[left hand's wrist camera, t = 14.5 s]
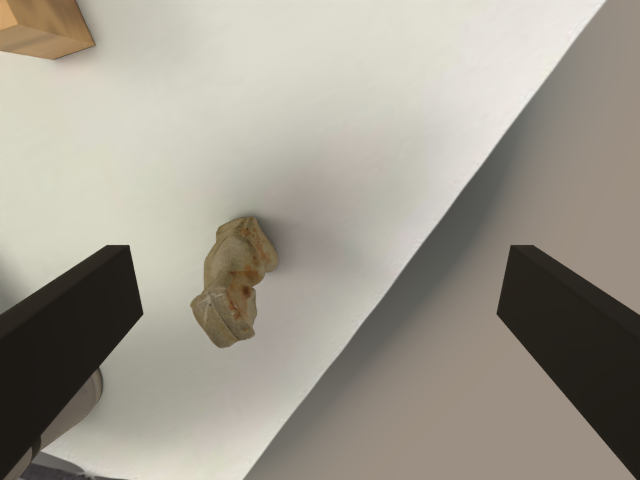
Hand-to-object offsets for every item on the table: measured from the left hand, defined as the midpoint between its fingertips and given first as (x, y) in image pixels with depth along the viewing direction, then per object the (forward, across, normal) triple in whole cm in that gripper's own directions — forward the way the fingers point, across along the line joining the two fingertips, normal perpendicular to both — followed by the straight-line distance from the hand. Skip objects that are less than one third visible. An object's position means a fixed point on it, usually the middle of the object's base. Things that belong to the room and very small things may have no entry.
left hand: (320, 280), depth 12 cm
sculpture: (+26, +8, +9) cm, 29 cm away
